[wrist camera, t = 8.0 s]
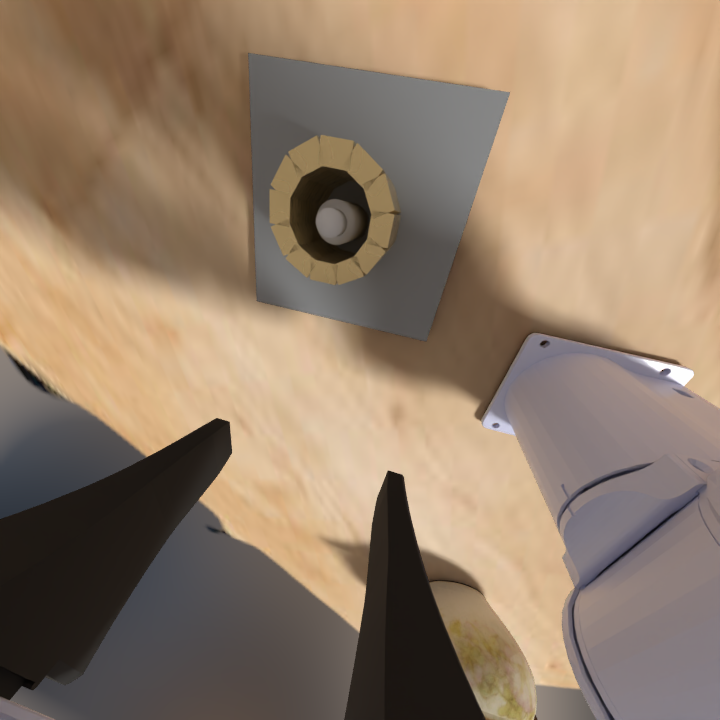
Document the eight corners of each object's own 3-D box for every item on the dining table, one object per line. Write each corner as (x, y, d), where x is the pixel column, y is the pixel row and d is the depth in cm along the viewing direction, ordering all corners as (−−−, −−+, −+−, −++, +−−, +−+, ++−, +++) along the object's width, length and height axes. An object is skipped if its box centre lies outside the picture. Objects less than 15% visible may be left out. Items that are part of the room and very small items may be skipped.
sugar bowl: (560, 613, 31) (660, 893, 18) (477, 638, 39) (506, 848, 26) (419, 542, 30) (419, 788, 17) (361, 582, 37) (332, 773, 25)
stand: (503, 101, 12) (559, 23, 7) (425, 335, 18) (428, 377, 13) (259, 64, 13) (167, -26, 8) (264, 297, 19) (212, 323, 14)
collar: (411, 171, 13) (408, 150, 9) (387, 276, 16) (377, 294, 12) (312, 152, 13) (269, 125, 9) (305, 257, 16) (269, 269, 12)
